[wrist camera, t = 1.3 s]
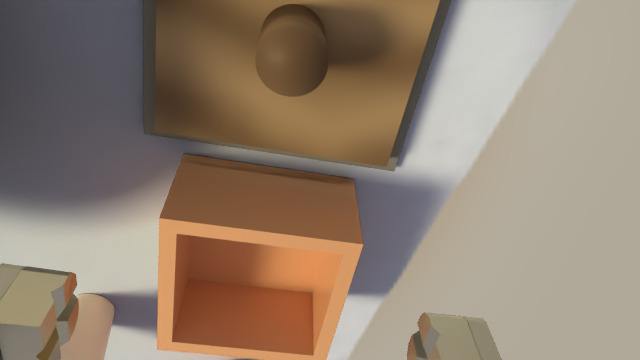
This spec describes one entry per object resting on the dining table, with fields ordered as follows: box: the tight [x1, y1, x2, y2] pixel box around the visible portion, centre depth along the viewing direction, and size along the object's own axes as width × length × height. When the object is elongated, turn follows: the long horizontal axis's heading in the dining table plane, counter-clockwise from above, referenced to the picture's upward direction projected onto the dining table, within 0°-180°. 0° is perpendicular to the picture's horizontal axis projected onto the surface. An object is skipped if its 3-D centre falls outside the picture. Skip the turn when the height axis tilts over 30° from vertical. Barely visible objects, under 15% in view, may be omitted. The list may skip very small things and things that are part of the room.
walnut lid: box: [155, 0, 440, 167], centre depth 27 cm, size 15×15×5 cm
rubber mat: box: [143, 0, 451, 171], centre depth 29 cm, size 17×17×1 cm
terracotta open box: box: [157, 154, 363, 360], centre depth 35 cm, size 12×12×7 cm
